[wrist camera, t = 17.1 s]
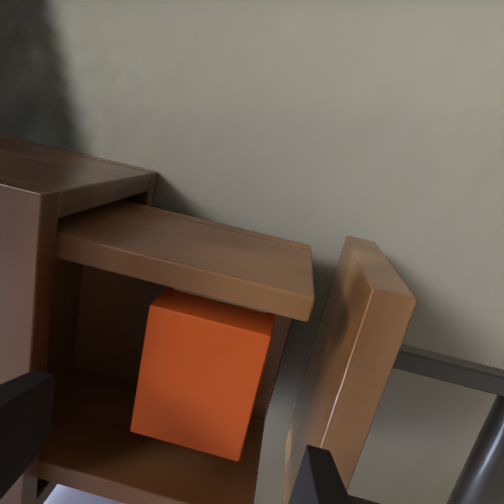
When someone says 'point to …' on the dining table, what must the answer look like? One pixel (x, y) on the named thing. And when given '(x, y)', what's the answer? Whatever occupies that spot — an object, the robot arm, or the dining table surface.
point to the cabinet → (44, 252)
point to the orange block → (200, 371)
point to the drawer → (316, 377)
